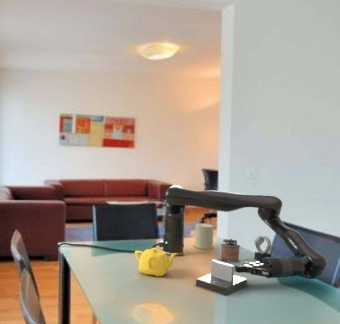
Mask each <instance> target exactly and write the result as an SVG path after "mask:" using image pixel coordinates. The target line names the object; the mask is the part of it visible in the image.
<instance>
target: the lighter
mask: <svg viewBox="0 0 340 324" xmlns="http://www.w3.org/2000/svg"><path fill="white" fill-rule="evenodd" d="M237 243H238V240H236V239H232V238H229V239H227V238H224V239H223V240H222V243H220V246H221V252H220V253H221V254H220V255H221V256H220V262H227V263H239V262H240V244H237Z"/></svg>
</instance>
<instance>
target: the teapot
mask: <svg viewBox="0 0 340 324" xmlns="http://www.w3.org/2000/svg"><path fill="white" fill-rule="evenodd" d="M134 251H135V252H134V255H135V256H134V257H135V258H136V260H137V261H138V270H139V272H140V273H142V274H143V275H147V276H149V275H150V276H151V275H152V276H155V277H157V278H159V277H160V278H161V277H163V276H165V274H166V273H167V272H168V270H169V269H170V268H171V267H172V265H173V263H174V257H176V256H175V255H176V254H178V253H173V254H171V255H169V256H170V257H169V258H168V254H166V252H165V251H163V250H161V249H160V248H157V247H154V248H152V247H151V248H146V249H145V250H143V252H142V250H134ZM139 254H141V255H139Z"/></svg>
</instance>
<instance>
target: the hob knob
mask: <svg viewBox="0 0 340 324" xmlns="http://www.w3.org/2000/svg"><path fill="white" fill-rule="evenodd" d="M210 274H211V276H212V277H215V278H219V279H222V280H225V281H229V282H233V280H234V275H235V265H233V264H230V263H226V262H224V261H218V260H216V259H212V260H210Z"/></svg>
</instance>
